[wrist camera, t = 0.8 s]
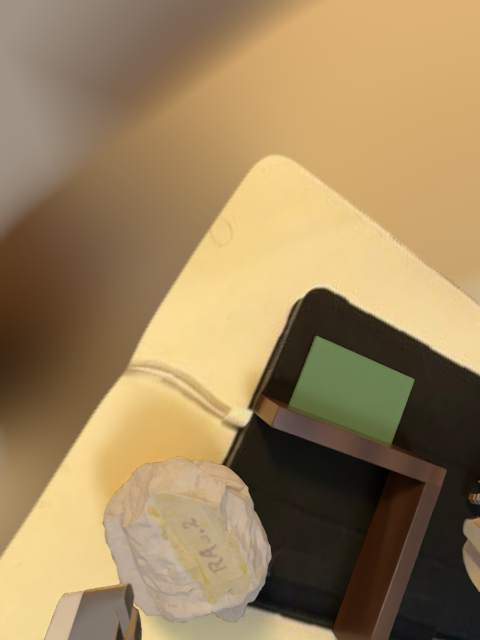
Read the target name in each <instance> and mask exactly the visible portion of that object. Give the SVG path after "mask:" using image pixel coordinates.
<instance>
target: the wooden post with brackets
mask: <svg viewBox="0 0 480 640" xmlns="http://www.w3.org/2000/svg"><path fill="white" fill-rule="evenodd" d="M478 482H479V483H480V481H478ZM468 499H469V500H470V502H471V503H472V504H480V494H478V495H476V494H470V495H469V498H468Z"/></svg>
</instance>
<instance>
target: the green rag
mask: <svg viewBox="0 0 480 640" xmlns="http://www.w3.org/2000/svg"><path fill="white" fill-rule="evenodd" d="M414 380H415V379H413V378H410V377H408V376H406V375H404V374H401V373H399V372H397V371H395V370H392V369H390V368H388V367H386V366H383V365H381V364H379V363H377V362H374V361H372V360H370V359H368V358H365V357H363V356H361V355H359V354H356V353H354V352H352V351H350V350H347V349H345V348H343V347H341V346H338V345H336V344H334V343H332V342H329V341H327V340H325V339H323V338H320V337H318V336H315V338H314V341H313V343H312V346H311V348H310V351H309V354H308V356H307V359H306V361H305V364H304V366H303V369H302V372H301V374H300V377H299V379H298V382H297V384H296V387H295V390H294V392H293V395H292V397H291V400H290V403H289V405H291V406H293V407H296V408H298V409H301V410H304V411H306V412H309V413H311V414H314V415H317V416H319V417H322V418H325V419H327V420H330V421H332V422H335V423H338V424H340V425H343V426H345V427H348V428H351V429H353V430H356V431H359V432H361V433H364V434H366V435H369V436H372V437H374V438H377V439H379V440H382V441H385V442H387V443H390V444H392V441H393V438H394V435H395V433H396V430H397V427H398V424H399V421H400V419H401V416H402V413H403V410H404V408H405V405H406V402H407V399H408V397H409V394H410V391H411V388H412V386H413V383H414Z"/></svg>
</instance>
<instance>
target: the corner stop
mask: <svg viewBox="0 0 480 640" xmlns="http://www.w3.org/2000/svg"><path fill="white" fill-rule="evenodd" d="M254 413H255V414H257V415H258V416H259V417H260V418H261V419H263V420H264V421H265V422H266V423H267V424H268V425H270V426H271V427H273V428H275V429H278V430H281V431H284V432H286V433H289V434H292V435H295V436H297V437H300V438H303V439H306V440H309V441H311V442H314V443H317V444H320V445H322V446H325V447H328V448H331V449H334V450H336V451H339V452H342V453H345V454H347V455H350V456H353V457H356V458H358V459H361V460H364V461H367V462H370V463H372V464H375V465H378V466H381V467H383V468H386V469H389V470H390V472H389V474H388V477H387V480H386V483H385V485H384V488H383V491H382V494H381V496H380V499H379V502H378V505H377V507H376V510H375V513H374V516H373V519H372V521H371V524H370V527H369V530H368V532H367V535H366V538H365V541H364V543H363V546H362V549H361V552H360V555H359V557H358V560H357V563H356V566H355V568H354V571H353V574H352V577H351V579H350V582H349V585H348V588H347V591H346V593H345V596H344V599H343V602H342V604H341V607H340V610H339V613H338V615H337V618H336V621H335V624H334V626H333V629H332V631H333V633H334V634H335V636H336V638H337V639H338V640H388V638H389V635H390V632H391V629H392V626H393V623H394V620H395V618H396V615H397V612H398V609H399V606H400V603H401V600H402V598H403V595H404V592H405V589H406V586H407V583H408V580H409V578H410V575H411V572H412V569H413V566H414V563H415V560H416V557H417V555H418V552H419V549H420V546H421V543H422V540H423V537H424V535H425V532H426V529H427V526H428V523H429V520H430V517H431V515H432V512H433V509H434V506H435V503H436V500H437V497H438V494H439V492H440V489H441V486H442V483H443V480H444V477H445V474H446V472H447V470H446V469H445V468H443V467H441V466H439V465H437V464H435V463H433V462H431V461H429V460H427V459H425V458H423V457H421V456H419V455H417V454H415V453H413V452H411V451H409V450H406V449H404V448H401V447H398V446H396V445H393V444H390V443H387V442H385V441H382V440H379V439H377V438H374V437H372V436H369V435H366V434H364V433H361V432H359V431H356V430H353V429H351V428H348V427H345V426H343V425H340V424H338V423H335V422H332V421H330V420H327V419H325V418H322V417H319V416H317V415H314V414H311V413H309V412H306V411H304V410H301V409H298V408H296V407H293V406H291V405H289V404H286V403H283V402H281V401H278V400H276V399H273V398H270V397H268V396H265V395H262V394H261V395H260V397H259V399H258V402H257V404H256V407H255V409H254Z"/></svg>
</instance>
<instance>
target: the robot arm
mask: <svg viewBox="0 0 480 640" xmlns="http://www.w3.org/2000/svg"><path fill="white" fill-rule="evenodd" d="M463 533H464V534H465V536H466V537H467V538H468V540H467V542H466V543H465V545H464V546H463V561H464V564H465V567H466V570H467V573H468V575H469V577H470V578H471V580H472V582H473V583H474V585H475V586H476V587H477V589H478V590H479V591H480V516H479V517H474V518H469V519H466V520H465V522H464V523H463ZM134 596H135V594H134V591H133V587H132V584H130V583H126V584H119V585H113V586H107V587H101V588H94V589H88V590H84V591H78V592H72V593H66V594H64V595H63V596H62V597H61V599H60V600H59V602H58V604H57V607H56V609H55V612H54V615H53V617H52V620H51V623H50V625H49V628H48V630H47V633H46V636H45V638H44V640H141V639H142V628H141V619H140V614H139V610H138V609H136V608H135V607H134V606H133V602H134Z"/></svg>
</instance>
